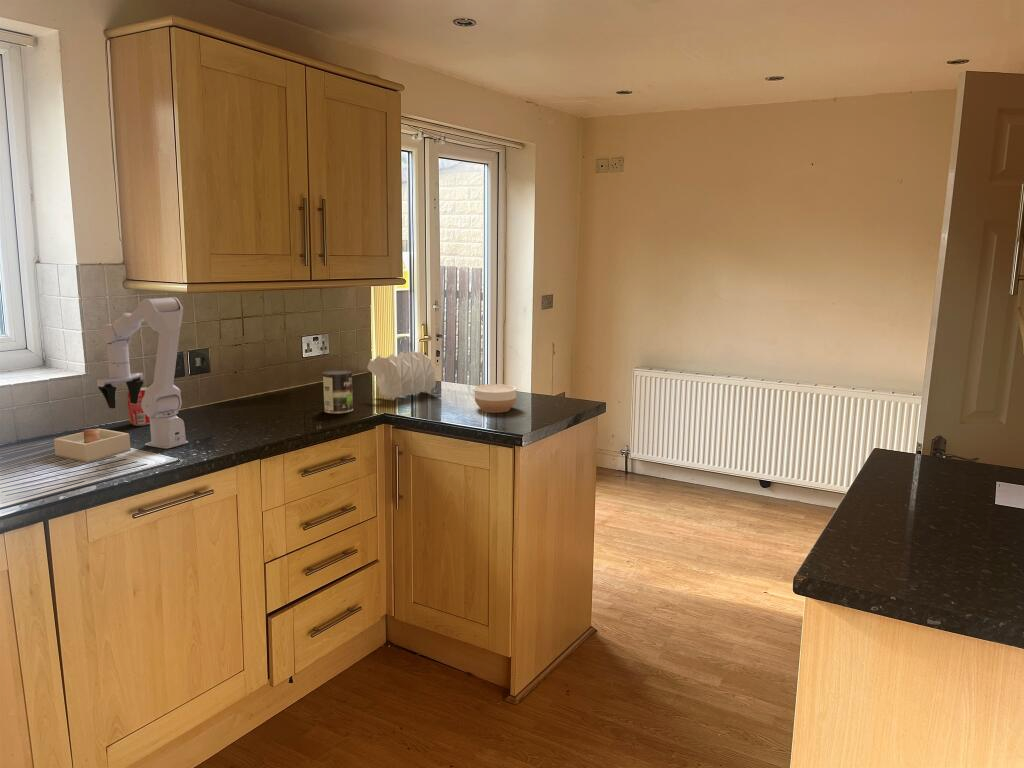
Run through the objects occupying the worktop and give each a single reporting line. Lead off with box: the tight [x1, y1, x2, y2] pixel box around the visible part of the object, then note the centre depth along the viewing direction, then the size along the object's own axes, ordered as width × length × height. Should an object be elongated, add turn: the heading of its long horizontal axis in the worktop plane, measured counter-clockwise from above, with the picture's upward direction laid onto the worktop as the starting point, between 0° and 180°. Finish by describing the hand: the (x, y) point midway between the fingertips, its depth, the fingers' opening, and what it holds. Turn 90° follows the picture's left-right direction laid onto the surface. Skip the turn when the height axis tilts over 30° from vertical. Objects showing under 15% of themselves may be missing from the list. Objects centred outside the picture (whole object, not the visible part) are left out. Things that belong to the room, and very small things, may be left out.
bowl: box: [472, 383, 518, 414], centre depth 276 cm, size 16×16×8 cm
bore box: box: [53, 428, 132, 463], centre depth 218 cm, size 14×14×5 cm
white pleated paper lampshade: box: [367, 349, 437, 401], centre depth 297 cm, size 18×18×25 cm
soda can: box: [127, 386, 150, 427], centre depth 251 cm, size 7×7×12 cm
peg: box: [83, 428, 100, 444], centre depth 218 cm, size 4×4×6 cm
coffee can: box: [322, 369, 354, 415], centre depth 272 cm, size 10×10×14 cm
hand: (123, 405), depth 236 cm, fingers open, 7 cm apart
